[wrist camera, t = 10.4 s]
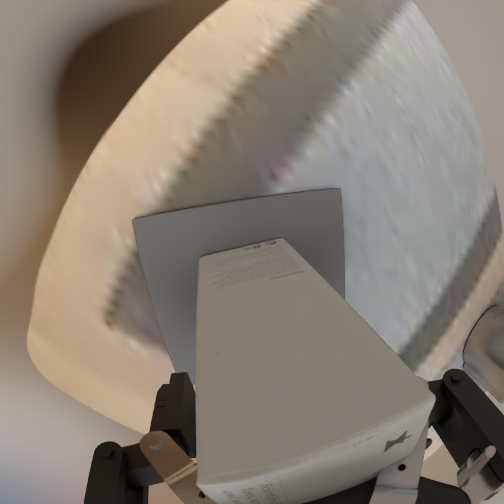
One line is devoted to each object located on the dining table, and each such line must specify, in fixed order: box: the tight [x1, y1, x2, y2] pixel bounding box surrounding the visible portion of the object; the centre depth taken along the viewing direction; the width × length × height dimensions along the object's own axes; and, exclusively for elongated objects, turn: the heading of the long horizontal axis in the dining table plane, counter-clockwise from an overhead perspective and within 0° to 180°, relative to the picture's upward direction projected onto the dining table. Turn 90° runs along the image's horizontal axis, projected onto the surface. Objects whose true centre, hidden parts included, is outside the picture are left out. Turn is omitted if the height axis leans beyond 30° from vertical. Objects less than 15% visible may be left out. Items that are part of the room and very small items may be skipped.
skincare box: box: [196, 238, 436, 504], centre depth 12 cm, size 8×6×15 cm
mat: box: [132, 188, 345, 385], centre depth 20 cm, size 14×14×1 cm
